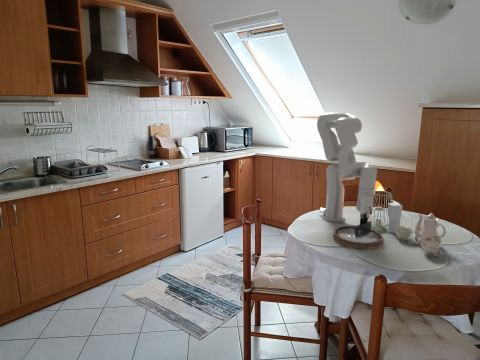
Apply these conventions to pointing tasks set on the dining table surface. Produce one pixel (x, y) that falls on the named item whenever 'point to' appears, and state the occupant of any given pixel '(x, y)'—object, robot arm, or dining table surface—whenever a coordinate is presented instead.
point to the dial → (359, 233)
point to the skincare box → (394, 215)
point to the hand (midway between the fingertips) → (363, 225)
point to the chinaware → (424, 234)
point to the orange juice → (378, 187)
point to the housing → (357, 244)
